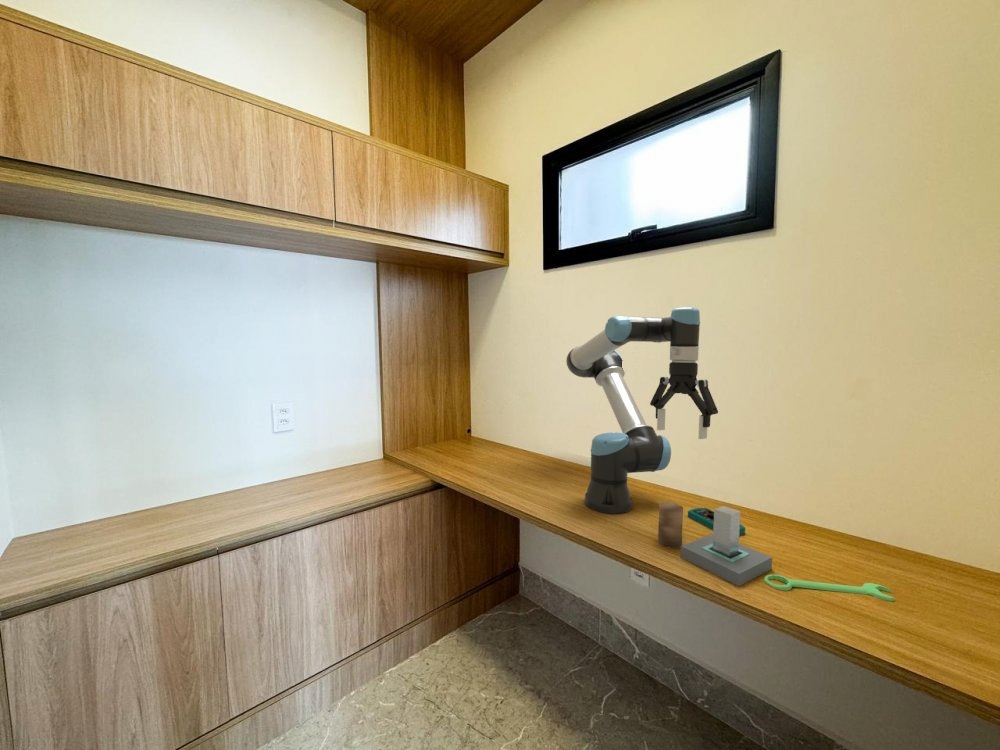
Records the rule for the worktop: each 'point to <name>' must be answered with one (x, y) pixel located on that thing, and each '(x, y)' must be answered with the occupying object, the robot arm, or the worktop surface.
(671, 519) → the round dowel
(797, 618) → the worktop surface
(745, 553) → the socket plate
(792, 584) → the wrench
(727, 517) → the square bit
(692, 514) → the digital multimeter
